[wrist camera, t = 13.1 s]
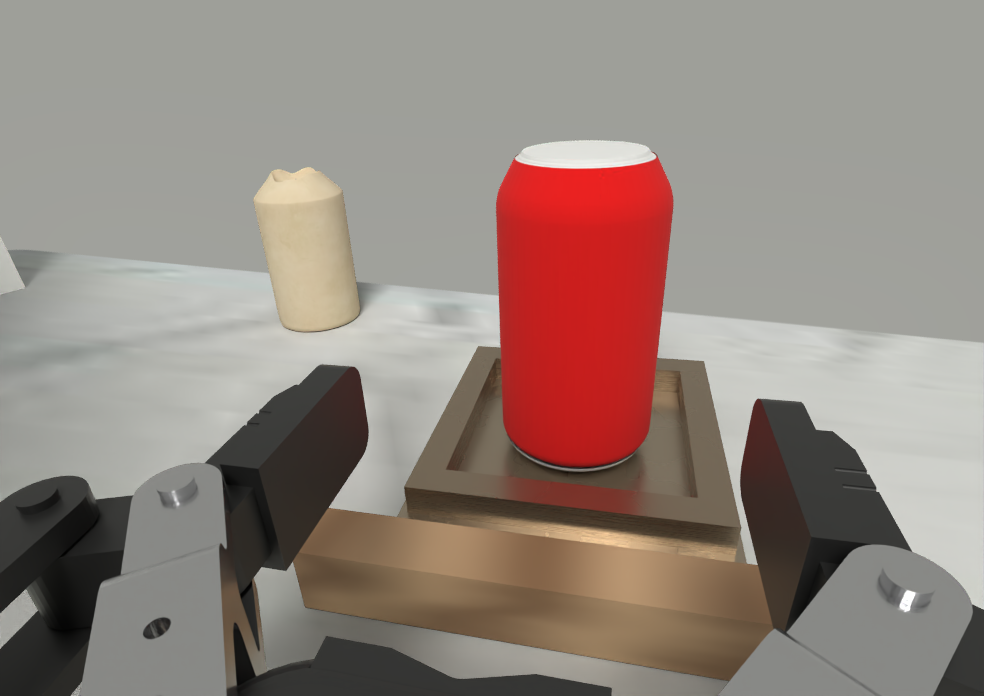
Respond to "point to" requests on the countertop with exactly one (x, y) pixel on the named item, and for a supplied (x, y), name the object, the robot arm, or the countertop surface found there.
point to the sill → (538, 591)
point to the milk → (8, 272)
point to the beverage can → (581, 299)
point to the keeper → (584, 473)
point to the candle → (307, 250)
